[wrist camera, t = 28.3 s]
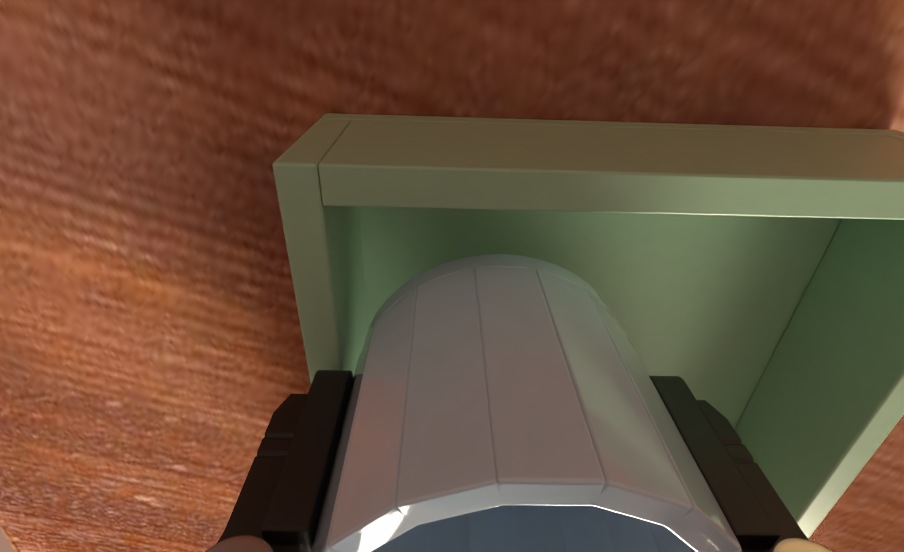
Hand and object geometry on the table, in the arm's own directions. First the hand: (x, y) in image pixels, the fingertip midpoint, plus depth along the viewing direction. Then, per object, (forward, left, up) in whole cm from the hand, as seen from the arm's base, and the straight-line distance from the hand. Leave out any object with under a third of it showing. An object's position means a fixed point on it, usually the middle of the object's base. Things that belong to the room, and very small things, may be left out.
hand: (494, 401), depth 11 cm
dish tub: (+3, -3, -4) cm, 6 cm away
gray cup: (0, 0, -1) cm, 1 cm away
